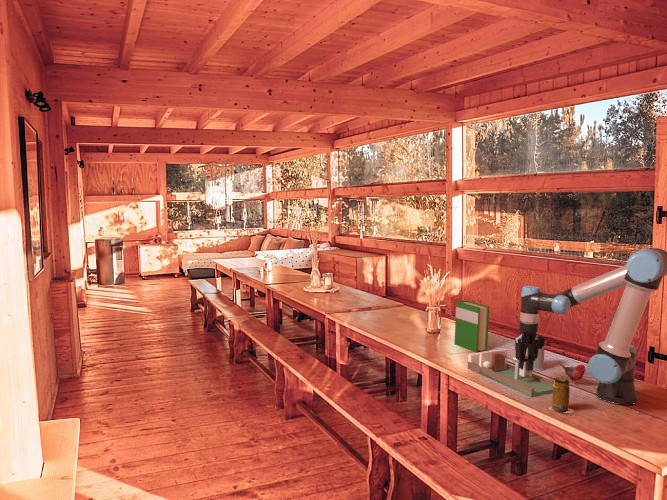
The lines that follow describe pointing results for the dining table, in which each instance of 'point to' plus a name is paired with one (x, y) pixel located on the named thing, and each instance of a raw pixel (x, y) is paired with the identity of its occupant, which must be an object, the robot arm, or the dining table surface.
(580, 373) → the decorative bird figurine
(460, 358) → the dining table surface
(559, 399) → the condiment
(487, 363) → the ball
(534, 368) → the glass holder
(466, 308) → the hardback book
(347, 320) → the dining table surface
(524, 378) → the pitch
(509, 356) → the foosball rod
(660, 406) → the dining table surface
